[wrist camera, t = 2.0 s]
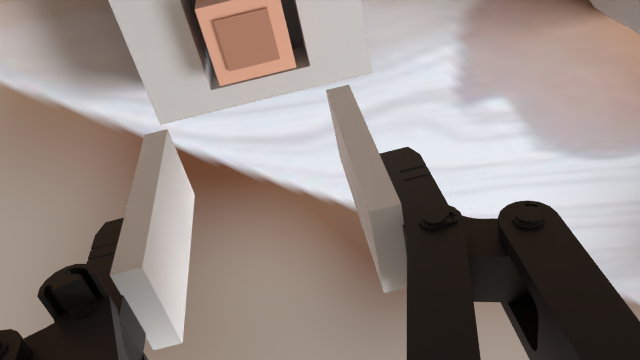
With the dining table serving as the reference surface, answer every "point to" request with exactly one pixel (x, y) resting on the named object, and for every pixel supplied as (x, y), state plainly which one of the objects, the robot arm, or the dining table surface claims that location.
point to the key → (245, 38)
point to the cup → (621, 11)
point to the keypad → (197, 68)
